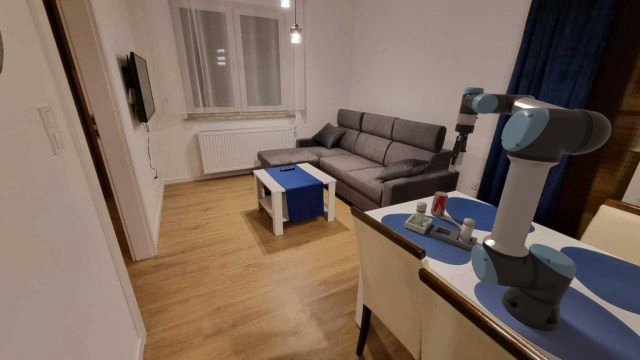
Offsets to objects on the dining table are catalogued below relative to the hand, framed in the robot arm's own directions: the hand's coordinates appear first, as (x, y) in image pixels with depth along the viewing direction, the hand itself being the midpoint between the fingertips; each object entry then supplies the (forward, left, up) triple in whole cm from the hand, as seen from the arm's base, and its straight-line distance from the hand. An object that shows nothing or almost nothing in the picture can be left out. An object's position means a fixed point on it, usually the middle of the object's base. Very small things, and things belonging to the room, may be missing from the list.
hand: (454, 168), depth 124 cm
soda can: (+11, +5, -32) cm, 34 cm away
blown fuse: (-9, +9, -31) cm, 34 cm away
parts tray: (-9, +9, -32) cm, 34 cm away
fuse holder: (-10, -8, -32) cm, 34 cm away
